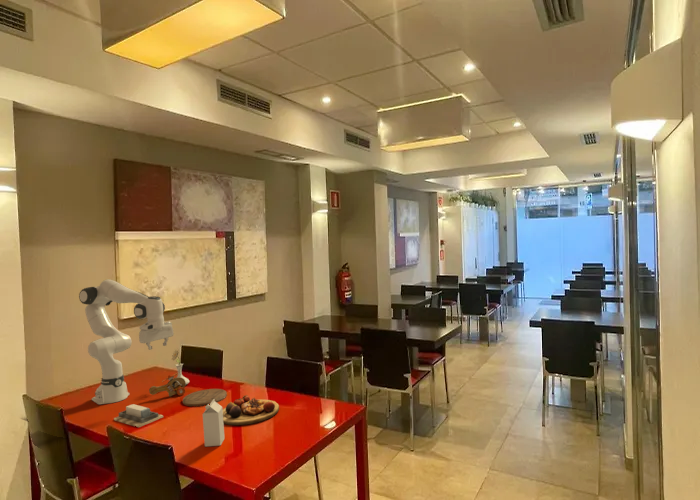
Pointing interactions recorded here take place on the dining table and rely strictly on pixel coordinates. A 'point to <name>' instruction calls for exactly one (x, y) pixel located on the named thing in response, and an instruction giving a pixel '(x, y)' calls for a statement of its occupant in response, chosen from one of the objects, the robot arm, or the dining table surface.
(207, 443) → the milk carton
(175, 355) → the flower in vase
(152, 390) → the toy cannon
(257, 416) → the wooden plate with food
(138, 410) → the white rectangular block
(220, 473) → the dining table surface
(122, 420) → the tray
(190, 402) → the trivet
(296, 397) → the dining table surface
